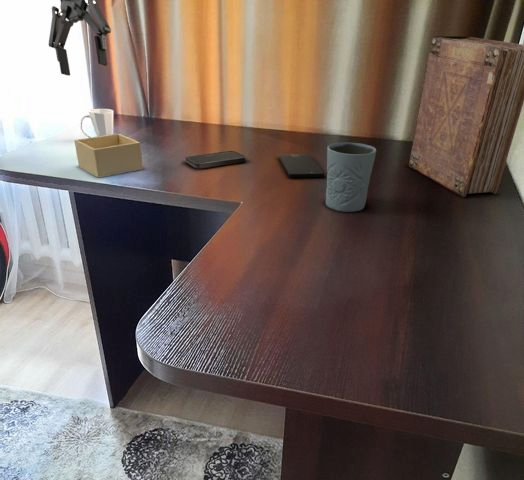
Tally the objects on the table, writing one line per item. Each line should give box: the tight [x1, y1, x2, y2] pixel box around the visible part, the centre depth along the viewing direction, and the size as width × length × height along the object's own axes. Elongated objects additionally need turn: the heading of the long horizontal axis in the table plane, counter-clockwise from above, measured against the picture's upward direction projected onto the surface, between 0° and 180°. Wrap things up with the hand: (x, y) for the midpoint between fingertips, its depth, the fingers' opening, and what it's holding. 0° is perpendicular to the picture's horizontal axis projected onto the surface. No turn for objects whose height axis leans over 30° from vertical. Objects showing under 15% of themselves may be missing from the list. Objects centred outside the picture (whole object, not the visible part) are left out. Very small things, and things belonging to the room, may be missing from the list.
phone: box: [185, 150, 247, 169], centre depth 135 cm, size 8×1×15 cm
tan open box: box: [73, 133, 144, 178], centre depth 127 cm, size 12×11×6 cm
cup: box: [79, 108, 114, 138], centre depth 149 cm, size 7×10×8 cm
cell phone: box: [278, 153, 325, 179], centre depth 133 cm, size 9×18×1 cm, turn 7°
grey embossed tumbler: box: [325, 142, 377, 213], centre depth 108 cm, size 10×10×12 cm
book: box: [408, 35, 524, 198], centre depth 119 cm, size 25×9×30 cm, turn 16°
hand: (84, 69), depth 139 cm, fingers open, 13 cm apart
